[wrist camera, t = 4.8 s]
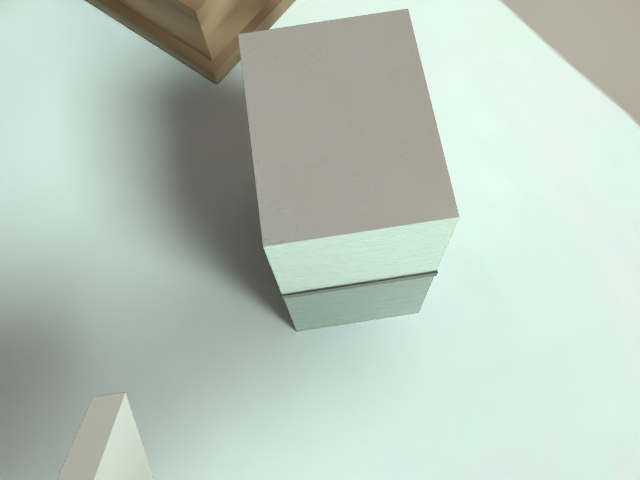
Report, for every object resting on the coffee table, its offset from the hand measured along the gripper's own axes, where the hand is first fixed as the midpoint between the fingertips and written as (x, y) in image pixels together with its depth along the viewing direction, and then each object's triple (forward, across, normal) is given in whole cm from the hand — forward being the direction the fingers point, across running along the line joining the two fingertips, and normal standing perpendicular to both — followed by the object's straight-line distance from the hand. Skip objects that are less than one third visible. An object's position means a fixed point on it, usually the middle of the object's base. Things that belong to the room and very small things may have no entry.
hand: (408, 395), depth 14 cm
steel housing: (+16, 0, -4) cm, 17 cm away
